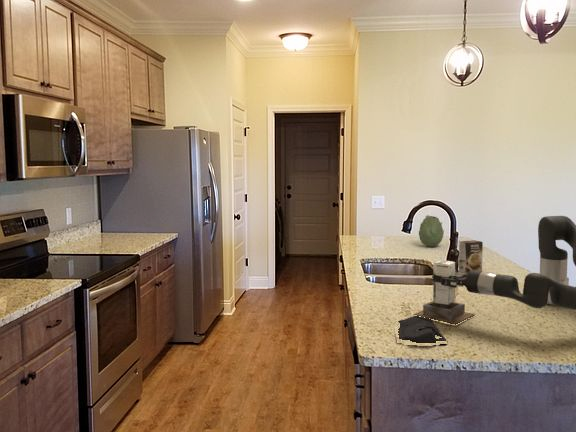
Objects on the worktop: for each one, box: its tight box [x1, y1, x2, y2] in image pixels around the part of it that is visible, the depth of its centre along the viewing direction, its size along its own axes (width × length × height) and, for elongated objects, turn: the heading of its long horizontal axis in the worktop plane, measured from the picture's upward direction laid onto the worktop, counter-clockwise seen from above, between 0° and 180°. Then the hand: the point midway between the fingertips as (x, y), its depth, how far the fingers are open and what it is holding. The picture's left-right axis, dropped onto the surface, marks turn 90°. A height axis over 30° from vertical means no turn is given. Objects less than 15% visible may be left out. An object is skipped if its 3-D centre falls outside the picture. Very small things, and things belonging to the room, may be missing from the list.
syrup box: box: [432, 260, 456, 305], centre depth 174 cm, size 6×6×14 cm
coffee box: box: [458, 239, 483, 273], centre depth 238 cm, size 9×6×16 cm
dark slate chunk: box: [397, 315, 447, 343], centre depth 159 cm, size 15×22×5 cm
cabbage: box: [418, 215, 445, 248], centre depth 316 cm, size 16×19×20 cm
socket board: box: [413, 300, 476, 325], centre depth 175 cm, size 16×14×4 cm
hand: (437, 276), depth 175 cm, fingers closed on syrup box, 6 cm apart
